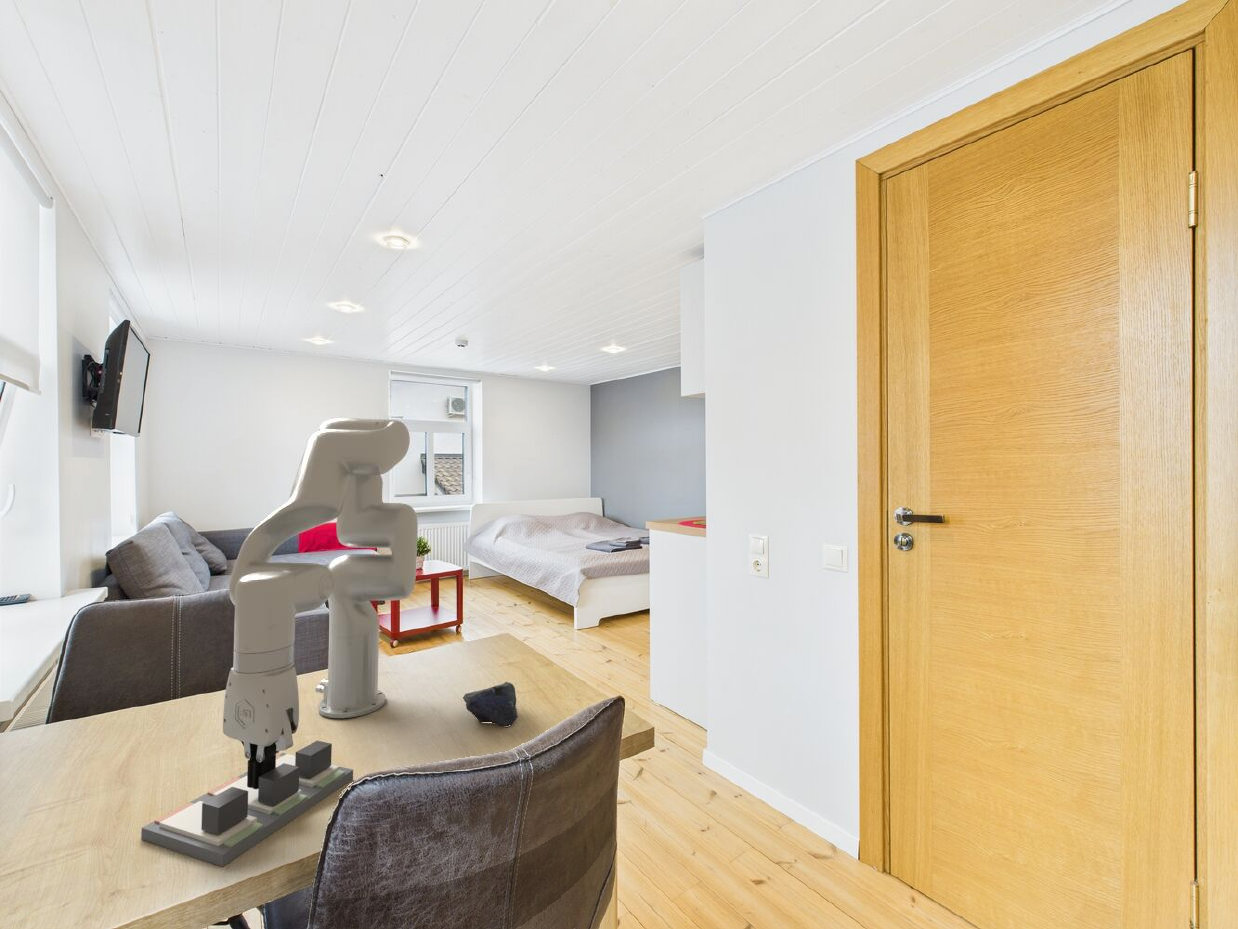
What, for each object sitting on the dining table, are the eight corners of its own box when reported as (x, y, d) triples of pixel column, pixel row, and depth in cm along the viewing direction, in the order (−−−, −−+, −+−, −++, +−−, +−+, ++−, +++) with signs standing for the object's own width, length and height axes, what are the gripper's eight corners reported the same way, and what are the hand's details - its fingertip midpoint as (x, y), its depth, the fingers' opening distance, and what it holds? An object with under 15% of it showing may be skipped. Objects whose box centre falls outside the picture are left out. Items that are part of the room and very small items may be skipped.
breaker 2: (295, 775, 86) (295, 752, 86) (316, 762, 89) (317, 740, 89) (309, 778, 85) (310, 755, 85) (331, 765, 88) (331, 743, 88)
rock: (475, 742, 102) (528, 722, 106) (465, 697, 104) (517, 678, 108) (467, 734, 116) (514, 717, 120) (458, 694, 117) (504, 678, 122)
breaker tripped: (258, 802, 78) (258, 777, 79) (283, 786, 82) (283, 763, 82) (274, 806, 78) (274, 781, 78) (298, 791, 81) (299, 767, 81)
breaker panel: (141, 839, 74) (141, 823, 74) (282, 761, 94) (282, 749, 94) (222, 866, 69) (222, 850, 69) (353, 779, 89) (353, 766, 89)
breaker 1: (201, 830, 72) (202, 803, 72) (231, 812, 76) (232, 786, 76) (217, 835, 71) (218, 807, 71) (247, 817, 75) (248, 791, 75)
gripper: (202, 659, 80) (199, 786, 80) (278, 674, 75) (275, 809, 75) (252, 644, 87) (249, 761, 87) (324, 656, 82) (321, 780, 82)
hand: (261, 783), depth 81 cm, fingers closed
